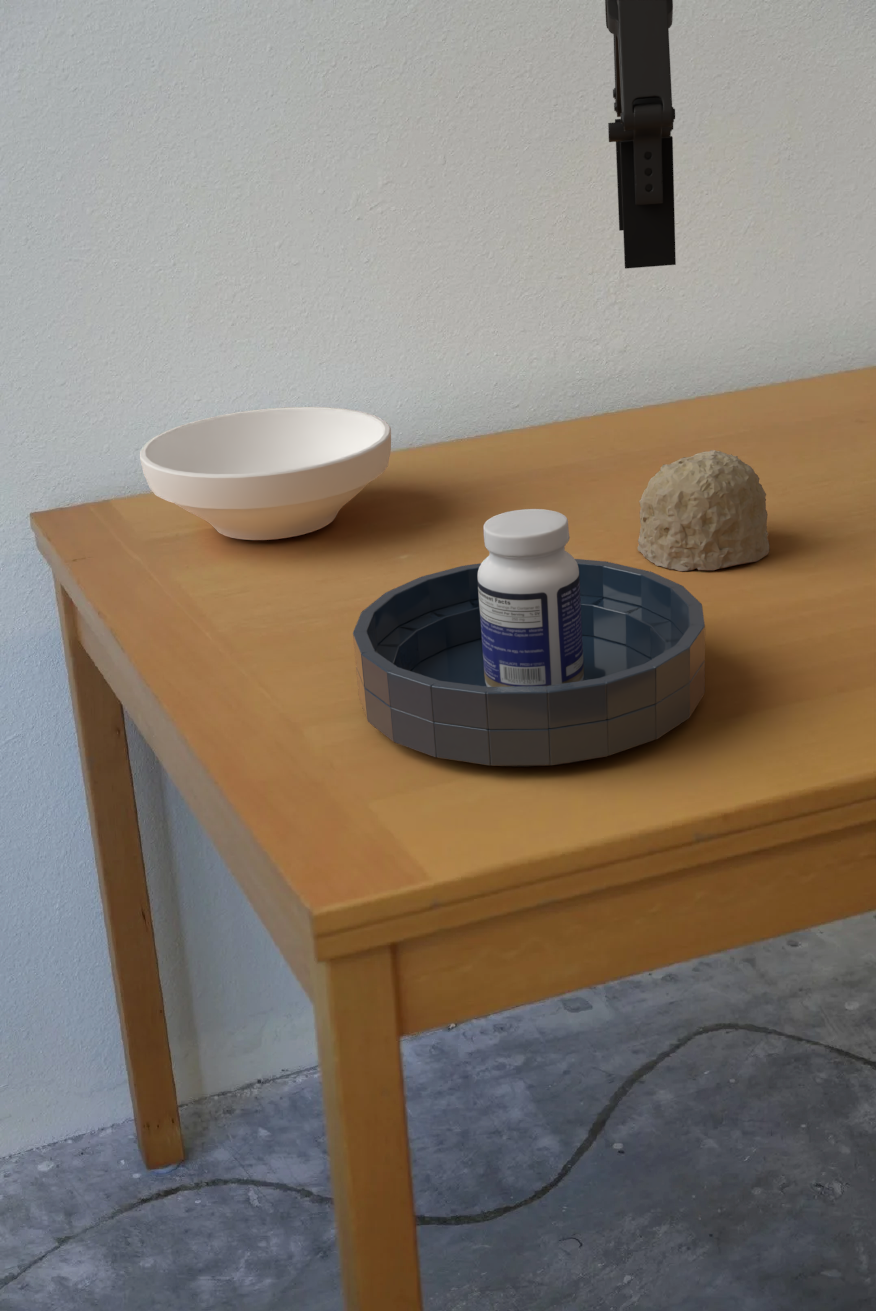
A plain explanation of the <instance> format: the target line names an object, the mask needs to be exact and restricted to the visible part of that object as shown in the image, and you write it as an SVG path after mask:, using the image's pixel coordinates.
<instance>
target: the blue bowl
mask: <svg viewBox="0 0 876 1311" xmlns="http://www.w3.org/2000/svg"><path fill="white" fill-rule="evenodd" d="M574 559H575V560H576V562H577V564H578V568H579V578H580V601H581V622H582V643H583V663H584V677H583V681H577V682H570V683H564V684H557V685H550V686H516V687H487V685H486V682H485V675H484V662H483V649H482V634H481V620H480V607H479V594H478V570H479V567H480V565H481V563H482V562H479V563H472V564H466V565H460V566H456V567H452V568H448V569H446V570H441V571H437V572H434V573H430V574H426V575H422V576H419V577H417V578H415V579H412V580H410V581H408V582H406V583H404V584H402V585H398V586H397V587H394V588H393V589H390V590H388V591H386V592H384V593H382V594H381V595H380V596H379V597H378V598H377V599H375V600H374V601H373V602H372V603H371V604H369V605H368V606H367V607H365V608H364V609H362V611H361V612H360V614H359V616H358V619H357V621H356V624H355V627H354V628H353V631H352V638H353V640H352V641H353V650H354V659H355V661H354V662H355V666H356V667H355V672H356V680H357V681H356V682H357V692H358V699H359V703H360V705H361V707H362V711H363V713H364V716H365V719H366V721H367V723H369V725H371V726H372V727H374V728H375V729H376V730H378V731H379V732H380V733H381V734H383V735H384V736H385V737H387V738H388V739H389V740H390V741H392V743H395V744H397V745H400V746H403V747H405V748H408V749H412V750H413V751H417V752H419V753H422V754H424V755H428V756H430V757H433V758H437V759H443V760H450V761H458V762H464V763H470V764H476V765H482V766H491V767H492V766H493V767H494V766H495V767H509V768H510V767H512V768H528V767H529V768H531V767H547V766H548V767H549V766H558V765H566V764H573V763H579V762H584V761H589V760H593V759H594V760H595V759H599V758H606V757H608V756H612V755H615V754H618V753H621V752H624V751H627V750H630V749H633V748H635V747H639V746H641V745H645V744H647V743H650V742H653V741H655V740H658V739H660V738H661V737H662V736H664V735H666V734H667V733H669V732H670V731H672V730H673V729H675V728H676V727H678V726H680V725H681V724H683V723H685V722H686V721H687V720H689V719H690V717H691V716H692V714H693V713H694V711H695V709H696V708H697V707H698V705H699V703H700V702H701V700H702V699H703V697H704V696H705V693H706V683H705V682H706V680H705V679H706V624H705V614H704V608H703V604H702V603H701V602H700V600H698V599H697V598H696V597H695V596H694V595H693V594H692V593H691V592H690V591H689V590H688V589H687V588H686V587H685V586H684V585H682V584H680V583H677V582H675V581H673V580H671V579H668V578H666V577H664V576H662V575H659V574H658V573H655V572H653V571H651V570H650V571H649V570H646V569H641V568H637V567H632V566H628V565H623V564H620V563H615V562H611V561H606V560H595V559H594V560H593V559H582V558H574Z"/></svg>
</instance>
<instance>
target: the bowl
mask: <svg viewBox="0 0 876 1311" xmlns="http://www.w3.org/2000/svg"><path fill="white" fill-rule="evenodd" d="M391 451H392V427H391V426H390V425H389V423H388V422H387V421H386V420H385V419H383V418H380V417H379V416H378V415H374V414H372V413H369V412H365V411H361V410H356V409H355V410H354V409H350V408H342V407H341V408H340V407H331V406H286V407H271V408H261V409H252V410H244V411H237V412H230V413H226V414H218V415H215V416H212V417H206V418H202V419H197V420H194V421H191V422H187V423H184V424H181V425H178V426H176V427H172V428H170V429H167V430H165V431H163V432H162V433H159V434H157V435H155V436H154V437H152V438H150V439H149V440H148V441H147V442H146V443H145V444H143V446H142V448H140V451H139V459H140V460H139V461H140V464H141V469H142V472H143V476H144V478H145V480H146V482H147V485H148V487H149V490H150V491H151V492H152V493H153V494H154V495H155V496H156V497H158V498H160V499H162V500H164V501H166V502H169V503H172V504H174V505H176V506H177V507H178V508H181V509H183V510H184V511H186V512H188V513H189V514H191V515H194V516H195V517H197V518H199V519H201V520H203V521H205V522H207V523H208V524H210V526H212V527H213V528H214V529H215V531H217V532H218V534H220V535H222V536H225V537H228V538H231V539H237V540H247V541H267V540H268V541H269V540H279V539H287V538H292V537H298V536H302V535H305V534H309V533H313V532H316V531H317V530H321V529H323V528H325V527H327V526H328V525H329V524H331V523H332V522H333V521H334V520H335V519H336V517H337V515H338V513H339V511H340V510H341V509H342V508H343V507H344V506H345V505H346V504H348V503H349V502H350V501H351V500H352V499H354V498H355V497H357V495H359V493H361V491H363V489H365V487H367V485H369V484H370V482H373V481H374V480H376V479H377V478H379V477H380V476H381V475H382V474H384V472H385V471H386V470H387V468H388V467H389V463H390V457H391Z"/></svg>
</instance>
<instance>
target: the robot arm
mask: <svg viewBox="0 0 876 1311" xmlns="http://www.w3.org/2000/svg"><path fill="white" fill-rule="evenodd" d="M604 13H605V24H606V25H605V26H606V28H607V30H608V32H609V33H610V34H611V35H613V64H614V65H613V66H614V87H613V89H612V98H613V99H614V102H613V109H614V110H613V111H614V112H615V114H616V117H617V118H614V122H608V123H607V126H608V128H607V130H608V131H607V132H608V143H615V154H616V155H615V158H616V181H617V182H616V183H617V184H616V185H617V203H618V206H617V207H618V209H617V210H618V230H619V231H620V232H622V231H623V257H624V258H623V259H624V269H639V268H640V269H641V268H652V267H663V266H674V265H675V266H676V265H677V263H676V262H677V260H676V221H675V220H676V219H675V180H674V178H675V177H674V176H675V175H674V174H675V173H674V140H673V139H674V138H673V136H672V131H674V122H675V120H676V108H674V106H673V95H672V94H673V93H672V74H671V72H672V71H671V54H670V53H671V50H670V34H669V32H670V31H669V29H670V28H671V27H672V25H673V17H674V1H673V0H604Z"/></svg>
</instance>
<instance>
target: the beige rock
mask: <svg viewBox="0 0 876 1311" xmlns="http://www.w3.org/2000/svg"><path fill="white" fill-rule="evenodd" d="M659 469H660V470H659V471H658V472H656V473H655V475H654V476H651V478H650V479H649V481H648V483H647V486H646V488H645V489H644V490H643V493H642V495H641V498H640V500H638V503H639V505H640V510H639V523H640V529H639V537H638V539H637V543H638V545H637V551H638V552H639V553H641V554H642V555H643V558H645V559H646V560H648V561H649V562H650V563H651V564H652V563H653V564H654V565H655V566H656V567H657V566H658V567H663V568H666V569H667V570H676V571H679V572H686V571H693V570H695V569H697V570H698V571H715V570H720V569H725V568H729V567H735V566H739V565H746V564H751V563H757V562H759V561H760V560H761V559H763V558H765V557H766V556H767V555H769V553H770V542H769V539H768V536H769V532H768V510H767V502H766V501H767V499H766V497H767V493H766V492H765V490H764V488H763V485H762V484H761V483H760V477H759V475H758V474H757V473H756V471H755V470H754V468H753V467H752V466H751V465H749V464H747V463H745V462H744V461H743V460H742V459H741V458H739V456H738V455H733V454H732V453H731V454H727V453H726V452H723V451H721V450H716V449H710V450H709V451H702V452H698V453H695V454H694V455H692V456H685V457H684V456H683V457H681V458H679V459H678V460H676V461H673V462H671V463H669V464H668V463H667V464H663V465H662V466H660V468H659Z"/></svg>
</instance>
